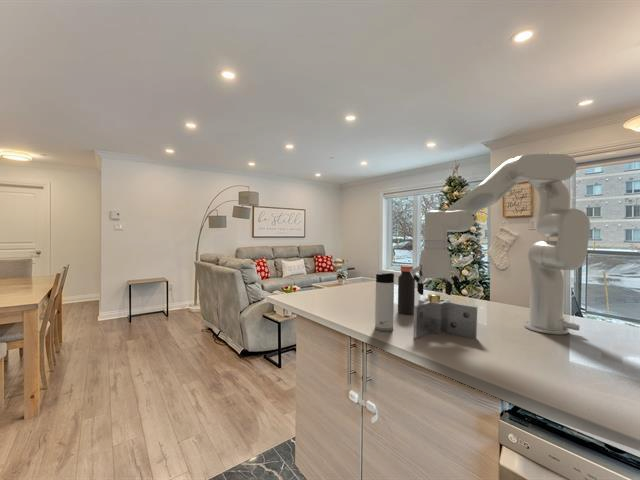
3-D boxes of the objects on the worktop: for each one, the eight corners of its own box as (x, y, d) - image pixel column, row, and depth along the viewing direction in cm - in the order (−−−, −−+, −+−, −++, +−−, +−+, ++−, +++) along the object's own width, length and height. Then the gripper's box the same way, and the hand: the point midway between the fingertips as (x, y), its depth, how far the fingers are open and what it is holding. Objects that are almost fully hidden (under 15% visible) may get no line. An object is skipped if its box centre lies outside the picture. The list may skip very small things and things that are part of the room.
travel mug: (383, 333, 102) (384, 273, 102) (371, 327, 108) (372, 271, 108) (397, 330, 105) (398, 273, 105) (385, 325, 111) (386, 270, 111)
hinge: (480, 335, 101) (480, 305, 100) (459, 350, 88) (460, 315, 88) (428, 324, 113) (428, 296, 113) (403, 335, 100) (404, 304, 100)
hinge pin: (441, 328, 108) (441, 295, 107) (436, 331, 105) (437, 296, 104) (430, 326, 110) (431, 293, 110) (425, 328, 107) (426, 295, 107)
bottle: (416, 315, 126) (417, 266, 126) (399, 314, 126) (400, 266, 126) (411, 310, 133) (412, 265, 132) (396, 310, 133) (396, 265, 132)
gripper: (455, 245, 111) (454, 292, 111) (407, 245, 111) (406, 292, 111) (465, 246, 103) (463, 296, 104) (414, 246, 103) (413, 296, 103)
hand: (434, 294), depth 107 cm, fingers open, 9 cm apart
